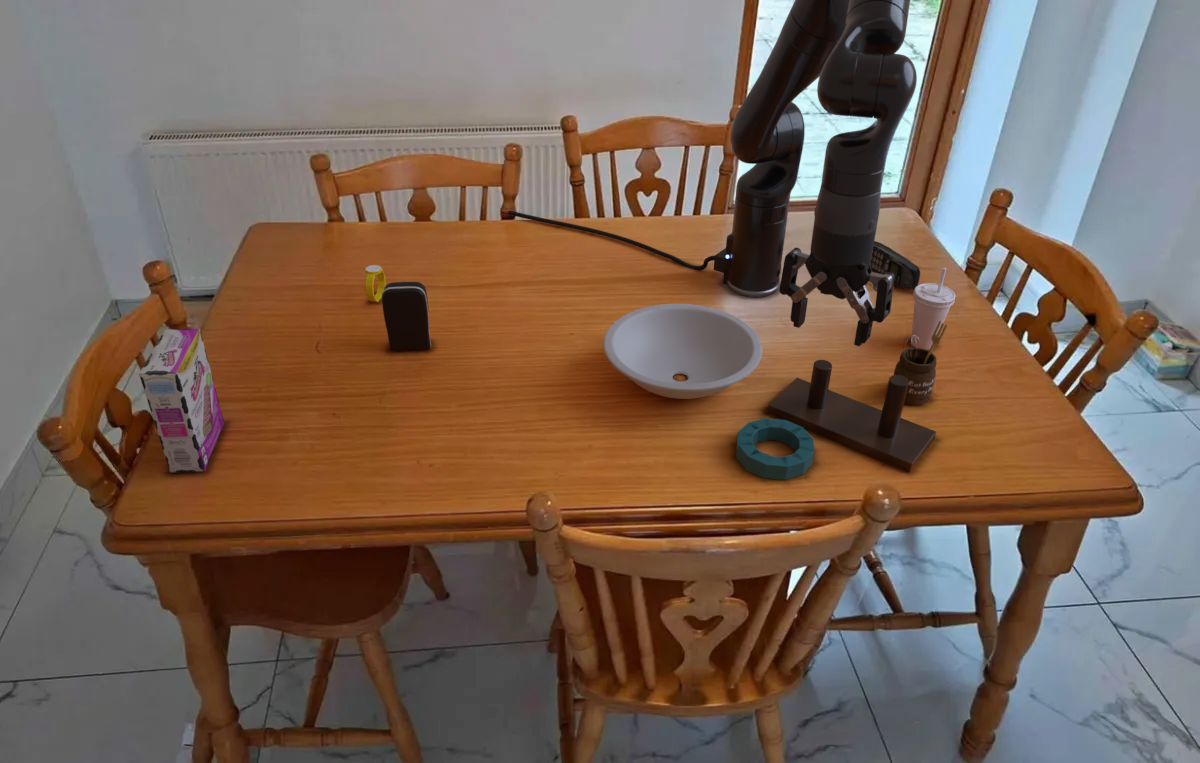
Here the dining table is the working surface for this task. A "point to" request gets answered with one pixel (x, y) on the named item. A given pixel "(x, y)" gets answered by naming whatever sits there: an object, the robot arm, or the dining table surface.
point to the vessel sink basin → (682, 349)
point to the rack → (855, 418)
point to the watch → (369, 284)
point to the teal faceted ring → (774, 464)
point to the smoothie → (930, 310)
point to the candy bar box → (183, 399)
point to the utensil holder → (919, 369)
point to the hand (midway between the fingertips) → (828, 334)
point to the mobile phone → (894, 266)
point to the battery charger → (406, 316)
